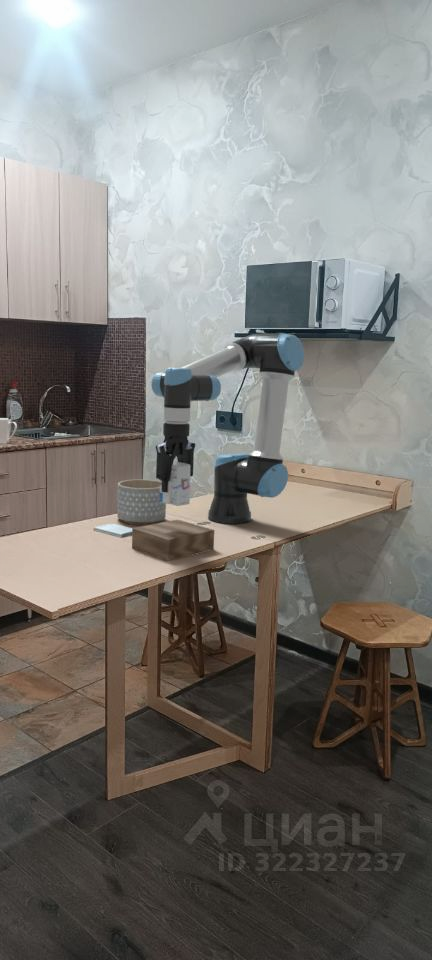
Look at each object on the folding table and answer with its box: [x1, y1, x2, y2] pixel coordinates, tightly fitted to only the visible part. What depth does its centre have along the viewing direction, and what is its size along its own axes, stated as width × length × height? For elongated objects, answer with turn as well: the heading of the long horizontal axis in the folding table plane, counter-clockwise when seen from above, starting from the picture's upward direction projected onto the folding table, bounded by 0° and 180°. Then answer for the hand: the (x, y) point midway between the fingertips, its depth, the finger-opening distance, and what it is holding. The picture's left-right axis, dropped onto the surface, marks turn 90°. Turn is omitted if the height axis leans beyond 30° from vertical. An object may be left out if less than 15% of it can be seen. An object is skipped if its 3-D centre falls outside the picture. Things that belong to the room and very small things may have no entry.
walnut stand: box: [131, 519, 215, 562], centre depth 206 cm, size 18×16×6 cm
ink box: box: [159, 460, 191, 507], centre depth 203 cm, size 9×5×12 cm, turn 45°
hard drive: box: [93, 523, 133, 538], centre depth 224 cm, size 2×8×12 cm
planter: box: [116, 479, 167, 526], centre depth 239 cm, size 16×16×13 cm
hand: (174, 501), depth 204 cm, fingers closed on ink box, 5 cm apart
